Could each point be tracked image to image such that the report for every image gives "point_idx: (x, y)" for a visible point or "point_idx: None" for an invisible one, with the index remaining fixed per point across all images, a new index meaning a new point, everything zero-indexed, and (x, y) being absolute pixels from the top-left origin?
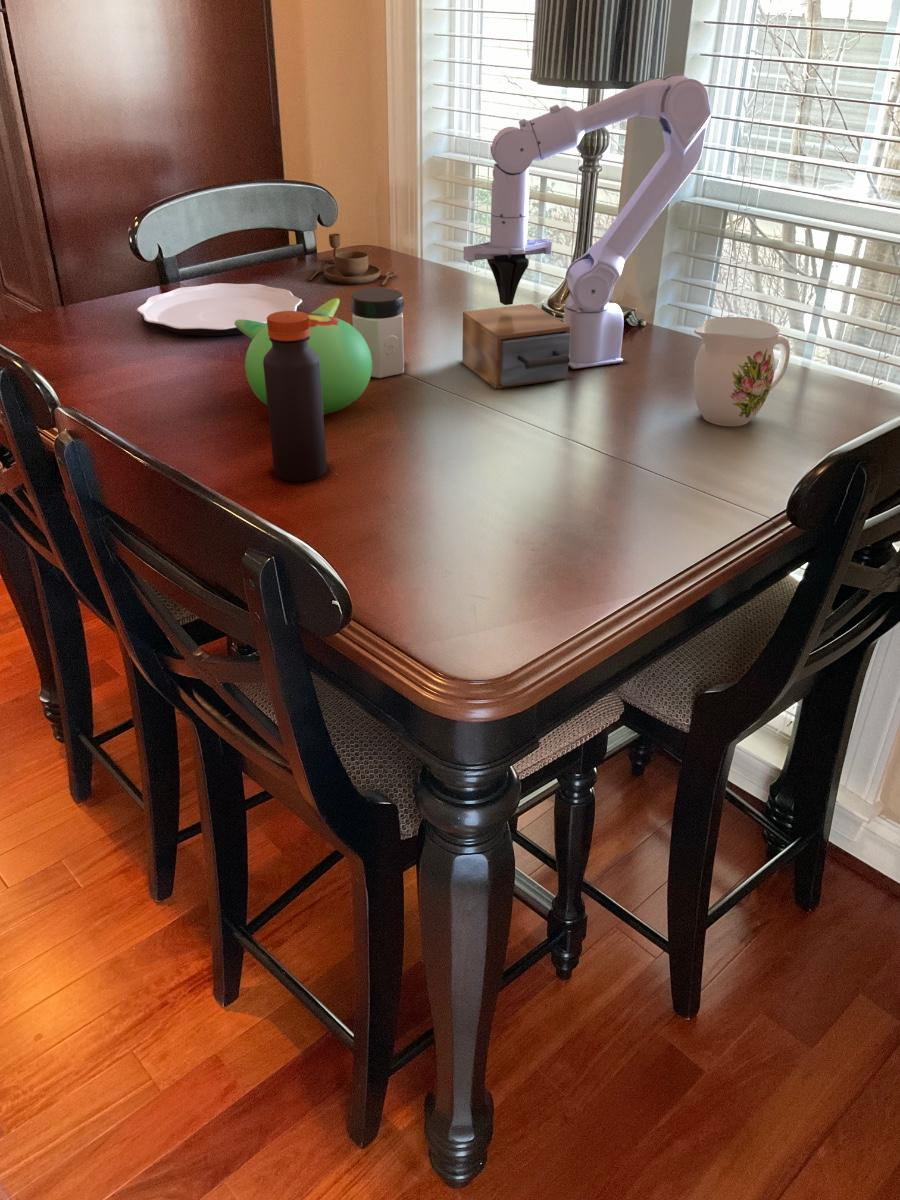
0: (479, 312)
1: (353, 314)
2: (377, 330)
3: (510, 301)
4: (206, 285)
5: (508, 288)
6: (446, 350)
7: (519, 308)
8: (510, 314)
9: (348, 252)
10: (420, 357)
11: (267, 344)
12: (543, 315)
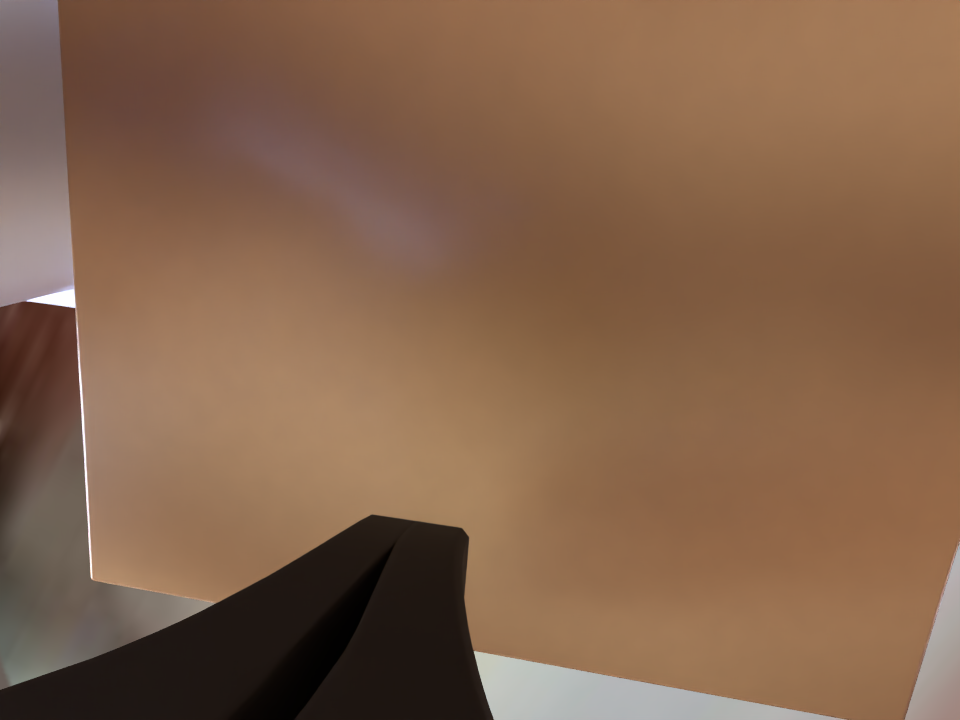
0: (757, 611)
1: None
2: None
3: (394, 526)
4: None
5: (399, 617)
6: (721, 703)
7: (278, 510)
8: (478, 378)
9: None
10: (948, 687)
11: None
12: (152, 156)
